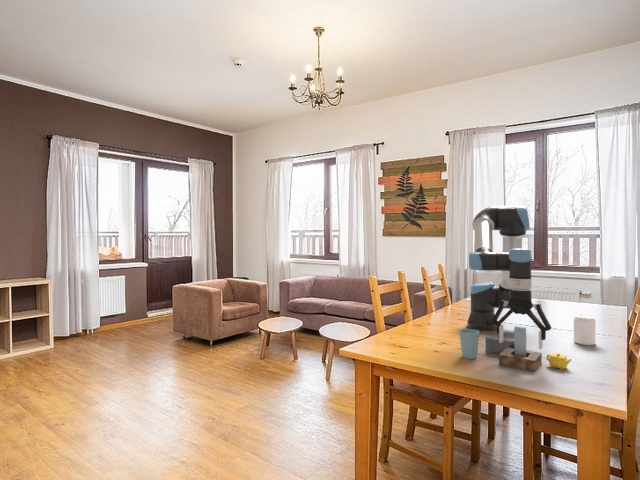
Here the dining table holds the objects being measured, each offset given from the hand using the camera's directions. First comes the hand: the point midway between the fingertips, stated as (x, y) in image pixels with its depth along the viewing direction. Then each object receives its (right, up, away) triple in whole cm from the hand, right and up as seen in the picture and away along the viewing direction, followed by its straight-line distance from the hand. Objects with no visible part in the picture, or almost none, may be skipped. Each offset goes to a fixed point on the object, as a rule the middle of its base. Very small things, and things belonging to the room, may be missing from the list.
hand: (520, 345), depth 149 cm
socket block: (0, -7, 0) cm, 7 cm away
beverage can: (+42, -6, +26) cm, 50 cm away
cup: (-16, -8, +10) cm, 20 cm away
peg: (0, -7, 0) cm, 7 cm away
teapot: (+12, -7, -4) cm, 15 cm away
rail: (-1, -7, +11) cm, 13 cm away
